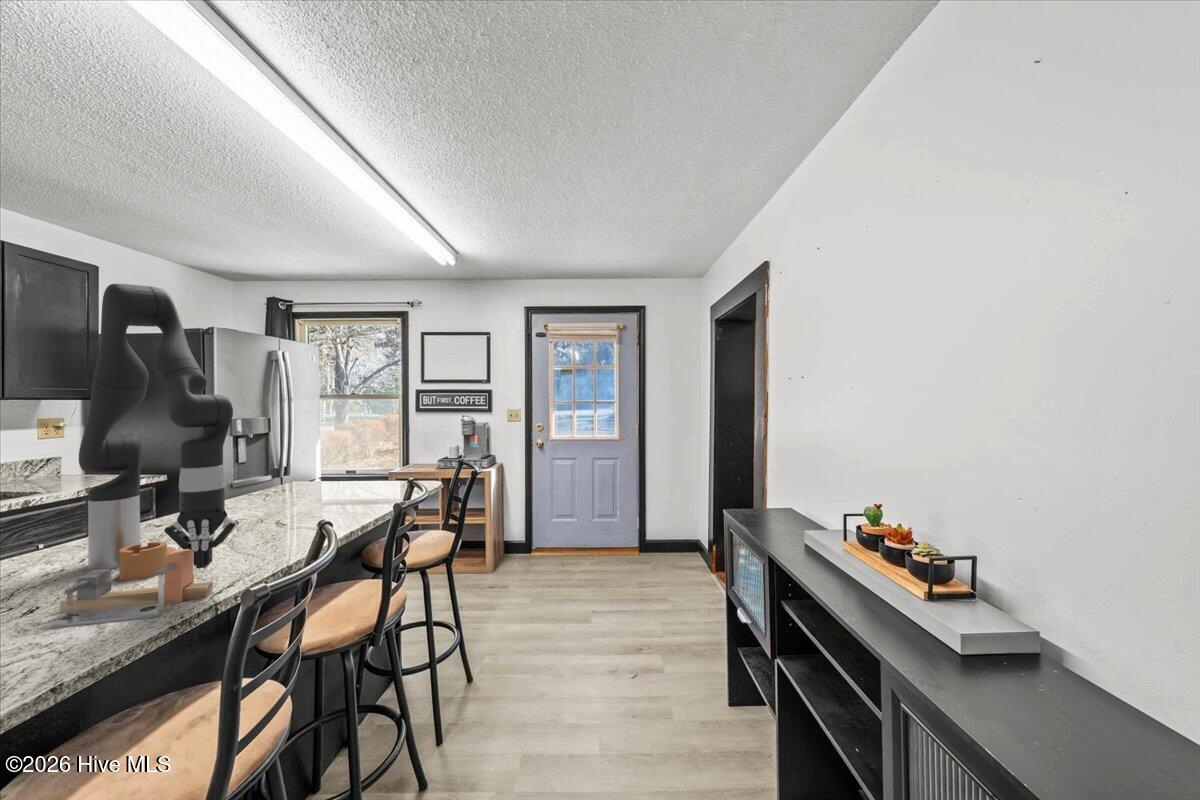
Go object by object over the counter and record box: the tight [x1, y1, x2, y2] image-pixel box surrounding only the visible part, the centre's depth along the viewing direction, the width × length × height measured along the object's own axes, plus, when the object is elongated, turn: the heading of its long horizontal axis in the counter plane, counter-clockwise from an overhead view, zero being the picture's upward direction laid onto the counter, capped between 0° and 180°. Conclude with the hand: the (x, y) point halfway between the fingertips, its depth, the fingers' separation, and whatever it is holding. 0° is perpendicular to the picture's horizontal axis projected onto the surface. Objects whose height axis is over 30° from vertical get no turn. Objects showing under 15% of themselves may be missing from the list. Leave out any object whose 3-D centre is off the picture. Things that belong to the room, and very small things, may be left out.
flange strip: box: [49, 601, 176, 629], centre depth 92 cm, size 6×16×1 cm, turn 107°
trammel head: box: [156, 548, 195, 606], centre depth 98 cm, size 10×3×10 cm, turn 17°
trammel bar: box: [59, 569, 214, 616], centre depth 96 cm, size 9×24×7 cm, turn 107°
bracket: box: [118, 541, 177, 581], centre depth 118 cm, size 18×8×7 cm, turn 33°
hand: (202, 566), depth 102 cm, fingers closed
